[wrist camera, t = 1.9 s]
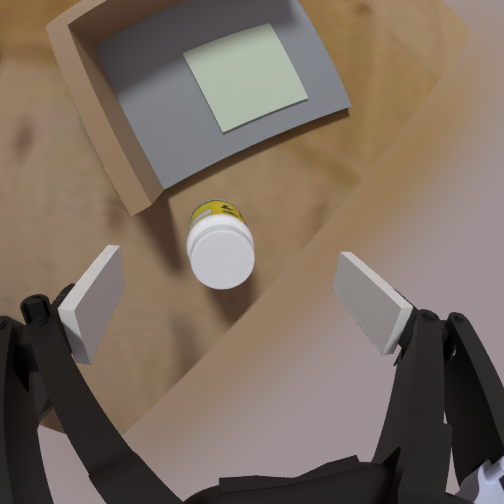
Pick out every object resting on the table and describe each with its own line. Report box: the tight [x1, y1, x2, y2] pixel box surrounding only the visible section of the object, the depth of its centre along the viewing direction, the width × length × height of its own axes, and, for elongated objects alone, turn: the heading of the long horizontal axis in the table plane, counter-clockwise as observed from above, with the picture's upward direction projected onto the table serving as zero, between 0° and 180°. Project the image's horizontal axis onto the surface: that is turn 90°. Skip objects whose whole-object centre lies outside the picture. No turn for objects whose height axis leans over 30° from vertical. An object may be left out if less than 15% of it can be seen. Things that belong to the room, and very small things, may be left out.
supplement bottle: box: [186, 199, 255, 289], centre depth 21 cm, size 5×5×8 cm
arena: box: [46, 0, 352, 217], centre depth 16 cm, size 20×17×7 cm
